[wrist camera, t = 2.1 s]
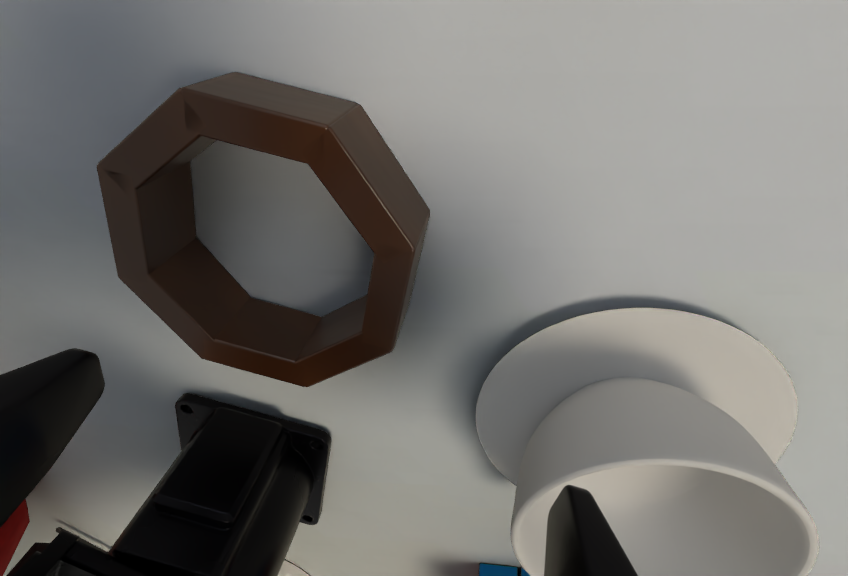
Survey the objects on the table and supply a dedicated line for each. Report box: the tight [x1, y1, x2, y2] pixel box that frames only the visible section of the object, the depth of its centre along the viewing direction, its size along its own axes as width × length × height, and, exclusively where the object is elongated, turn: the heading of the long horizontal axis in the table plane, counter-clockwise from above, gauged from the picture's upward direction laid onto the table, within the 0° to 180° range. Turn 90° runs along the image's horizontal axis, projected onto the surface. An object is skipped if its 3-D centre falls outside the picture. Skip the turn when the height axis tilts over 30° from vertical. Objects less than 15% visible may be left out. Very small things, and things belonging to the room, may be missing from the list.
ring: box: [97, 72, 430, 387], centre depth 13 cm, size 8×8×2 cm
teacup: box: [476, 308, 819, 576], centre depth 14 cm, size 10×10×5 cm
